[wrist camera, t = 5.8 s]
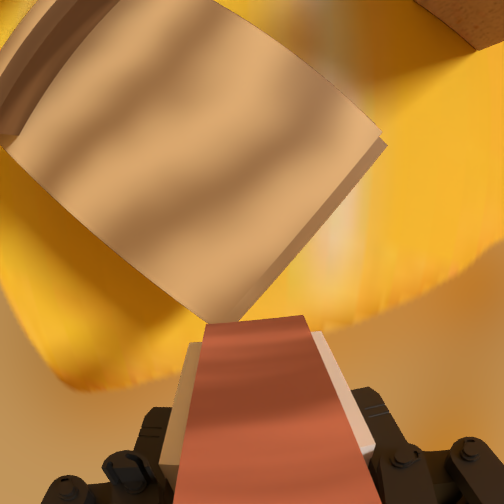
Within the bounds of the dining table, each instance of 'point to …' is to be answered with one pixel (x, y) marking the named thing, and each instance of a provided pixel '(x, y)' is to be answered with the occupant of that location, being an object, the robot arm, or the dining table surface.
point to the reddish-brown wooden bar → (268, 422)
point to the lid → (181, 140)
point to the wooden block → (471, 19)
